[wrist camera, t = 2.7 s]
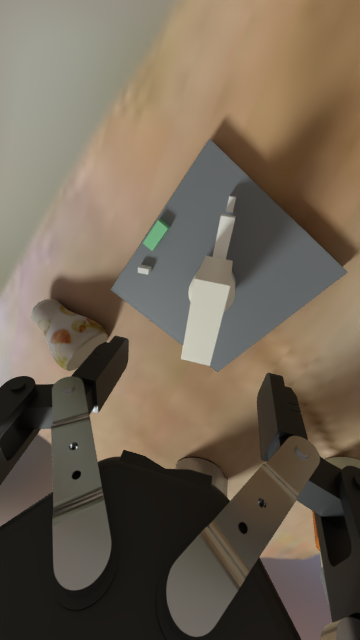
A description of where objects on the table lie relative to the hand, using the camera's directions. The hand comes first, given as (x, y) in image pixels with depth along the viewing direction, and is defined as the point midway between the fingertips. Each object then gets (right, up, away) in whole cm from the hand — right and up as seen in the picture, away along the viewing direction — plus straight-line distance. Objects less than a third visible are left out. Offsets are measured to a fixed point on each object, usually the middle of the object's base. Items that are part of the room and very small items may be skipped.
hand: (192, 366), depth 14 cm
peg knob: (+3, +8, +11) cm, 14 cm away
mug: (-15, +2, +21) cm, 26 cm away
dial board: (+3, +7, +13) cm, 15 cm away
